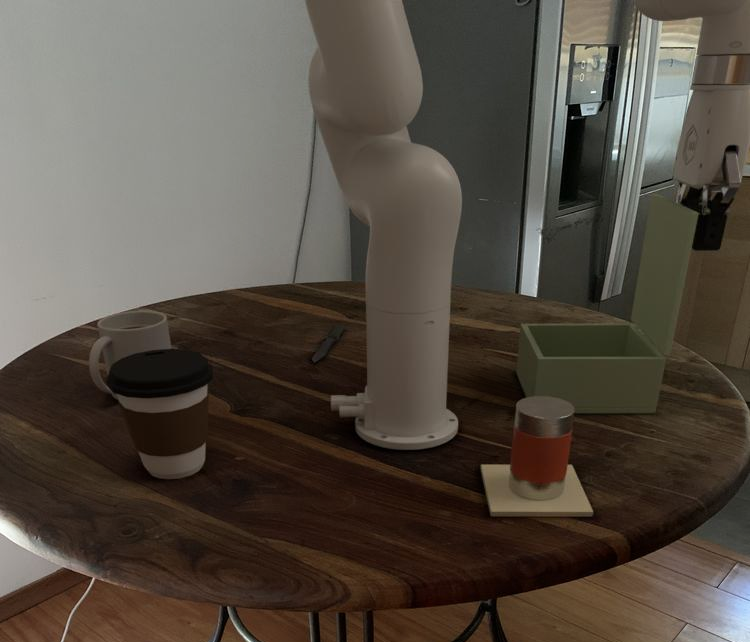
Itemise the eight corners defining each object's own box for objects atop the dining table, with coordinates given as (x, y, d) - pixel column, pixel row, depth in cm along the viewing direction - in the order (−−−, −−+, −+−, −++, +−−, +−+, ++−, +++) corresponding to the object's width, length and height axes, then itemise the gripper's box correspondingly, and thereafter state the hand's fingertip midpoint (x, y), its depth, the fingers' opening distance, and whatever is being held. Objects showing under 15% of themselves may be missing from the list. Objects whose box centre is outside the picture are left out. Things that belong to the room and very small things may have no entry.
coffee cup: (120, 454, 85) (100, 354, 79) (214, 438, 88) (202, 342, 82) (130, 498, 76) (108, 389, 70) (234, 478, 80) (222, 373, 74)
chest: (532, 413, 94) (538, 358, 90) (516, 373, 107) (520, 323, 103) (655, 413, 94) (666, 358, 90) (624, 372, 106) (632, 323, 102)
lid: (691, 212, 81) (737, 212, 81) (651, 193, 94) (691, 193, 94) (663, 355, 90) (705, 355, 90) (630, 320, 102) (666, 320, 102)
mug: (173, 375, 107) (162, 307, 102) (182, 399, 99) (171, 326, 94) (95, 386, 104) (80, 316, 99) (98, 411, 96) (82, 336, 91)
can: (512, 500, 74) (520, 418, 69) (504, 474, 79) (511, 395, 74) (569, 501, 74) (581, 418, 69) (558, 474, 79) (568, 395, 74)
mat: (490, 516, 72) (491, 511, 72) (480, 469, 81) (480, 464, 81) (592, 516, 72) (593, 511, 72) (571, 469, 81) (572, 464, 80)
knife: (332, 322, 125) (349, 321, 125) (332, 327, 126) (349, 325, 125) (305, 360, 111) (324, 359, 110) (306, 365, 111) (325, 364, 110)
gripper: (669, 75, 88) (643, 231, 98) (725, 75, 74) (688, 259, 83) (732, 74, 88) (700, 230, 97) (800, 74, 73) (755, 259, 82)
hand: (695, 242), depth 90 cm, fingers open, 6 cm apart
